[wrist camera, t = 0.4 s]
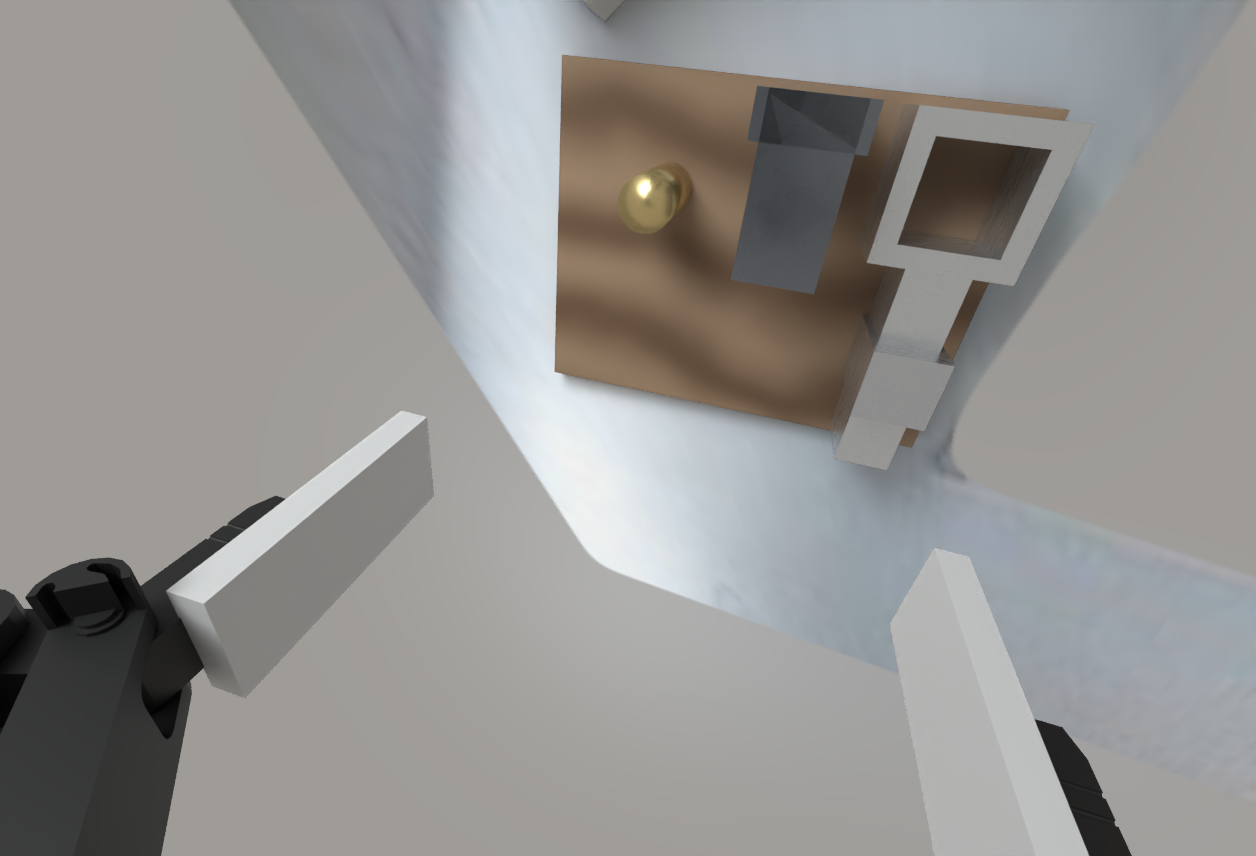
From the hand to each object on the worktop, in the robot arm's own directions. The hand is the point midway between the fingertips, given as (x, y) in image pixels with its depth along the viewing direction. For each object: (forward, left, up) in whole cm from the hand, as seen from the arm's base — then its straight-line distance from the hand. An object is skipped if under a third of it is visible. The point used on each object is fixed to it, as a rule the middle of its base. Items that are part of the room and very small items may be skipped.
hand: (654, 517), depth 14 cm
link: (0, +10, -24) cm, 26 cm away
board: (0, +1, -25) cm, 25 cm away
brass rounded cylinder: (-4, -5, -25) cm, 26 cm away
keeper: (-6, +2, -25) cm, 26 cm away
